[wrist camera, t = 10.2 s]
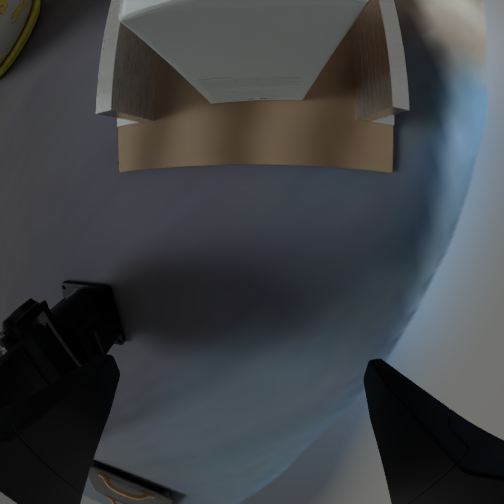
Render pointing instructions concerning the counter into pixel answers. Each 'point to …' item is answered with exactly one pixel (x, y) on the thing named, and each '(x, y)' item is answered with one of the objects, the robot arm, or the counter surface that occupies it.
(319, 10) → the small box
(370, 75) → the bookends
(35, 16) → the flowerpot
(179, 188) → the counter surface
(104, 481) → the serving board
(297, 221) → the counter surface
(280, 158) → the shelf board
